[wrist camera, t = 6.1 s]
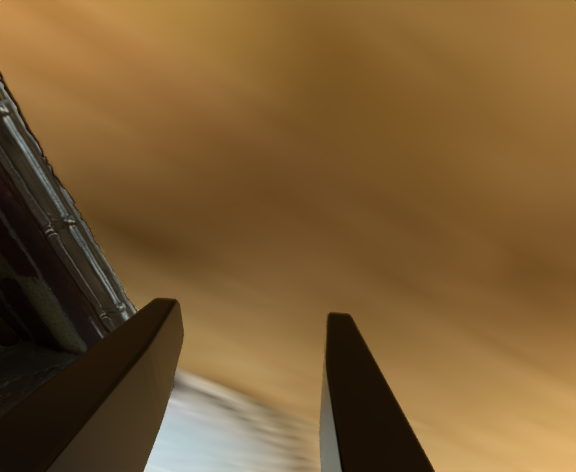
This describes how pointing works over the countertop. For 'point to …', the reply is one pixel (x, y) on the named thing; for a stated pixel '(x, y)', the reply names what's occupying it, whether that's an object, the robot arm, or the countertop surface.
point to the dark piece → (46, 269)
